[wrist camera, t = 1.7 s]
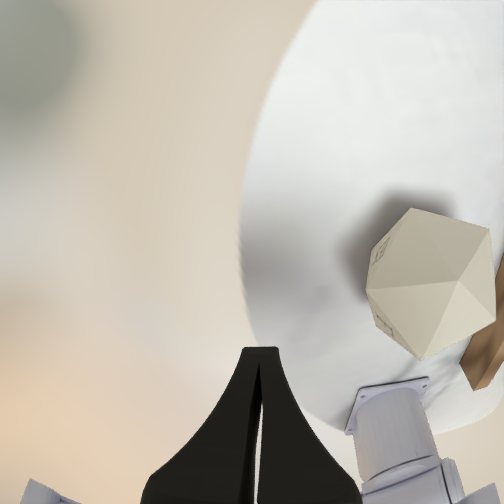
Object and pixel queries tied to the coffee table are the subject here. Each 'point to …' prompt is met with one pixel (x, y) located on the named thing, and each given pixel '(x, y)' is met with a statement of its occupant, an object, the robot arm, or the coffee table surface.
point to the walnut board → (487, 344)
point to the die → (432, 282)
